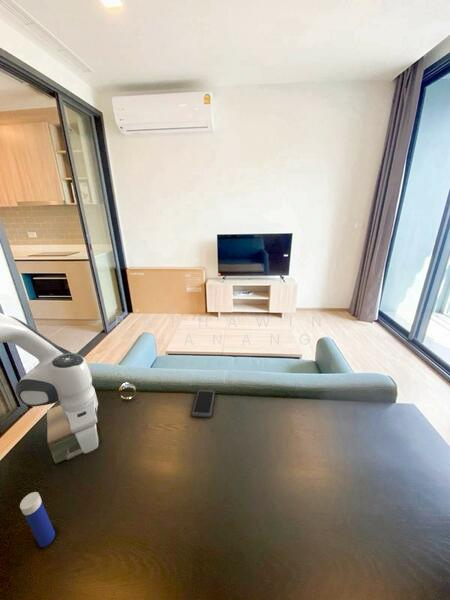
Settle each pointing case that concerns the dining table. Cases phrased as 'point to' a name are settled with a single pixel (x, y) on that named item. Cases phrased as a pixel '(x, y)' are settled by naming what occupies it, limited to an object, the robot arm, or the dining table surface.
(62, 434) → the cabinet
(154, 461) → the dining table surface
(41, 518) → the disc
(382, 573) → the dining table surface
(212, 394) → the cell phone
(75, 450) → the drawer
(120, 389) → the ring
